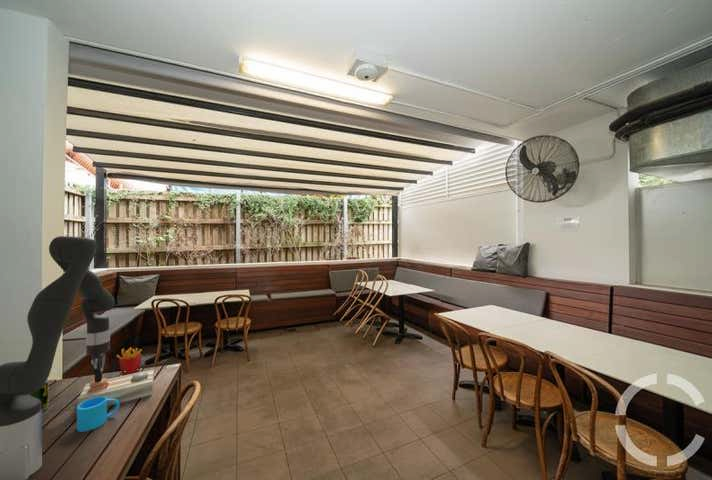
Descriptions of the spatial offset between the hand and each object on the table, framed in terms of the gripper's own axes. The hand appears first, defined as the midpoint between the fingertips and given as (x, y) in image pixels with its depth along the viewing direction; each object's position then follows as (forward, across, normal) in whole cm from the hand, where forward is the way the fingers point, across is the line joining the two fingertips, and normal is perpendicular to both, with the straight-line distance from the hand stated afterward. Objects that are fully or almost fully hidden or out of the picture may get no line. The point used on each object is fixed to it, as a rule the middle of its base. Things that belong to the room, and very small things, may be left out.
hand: (98, 381), depth 118 cm
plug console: (+9, 0, -7) cm, 11 cm away
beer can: (+9, +6, +19) cm, 22 cm away
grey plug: (+8, 0, -14) cm, 16 cm away
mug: (+9, -18, -3) cm, 20 cm away
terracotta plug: (+7, 0, 0) cm, 7 cm away
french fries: (+9, +19, -9) cm, 23 cm away
